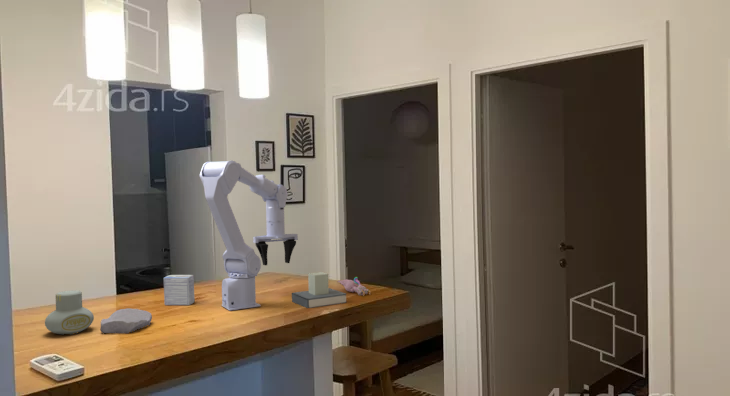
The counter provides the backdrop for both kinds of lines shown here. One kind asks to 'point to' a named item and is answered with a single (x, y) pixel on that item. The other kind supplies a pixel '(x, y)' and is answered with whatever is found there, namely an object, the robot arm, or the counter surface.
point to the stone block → (125, 321)
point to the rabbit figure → (354, 286)
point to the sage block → (318, 283)
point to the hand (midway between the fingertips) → (276, 263)
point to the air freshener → (69, 314)
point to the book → (318, 298)
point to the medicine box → (179, 290)
